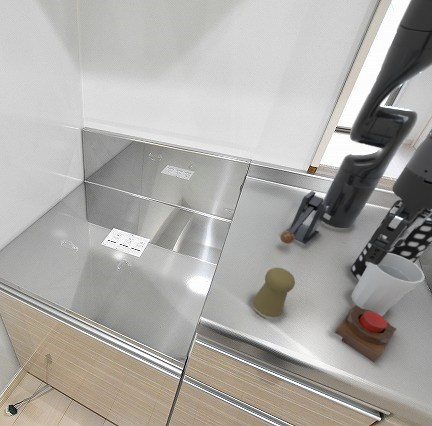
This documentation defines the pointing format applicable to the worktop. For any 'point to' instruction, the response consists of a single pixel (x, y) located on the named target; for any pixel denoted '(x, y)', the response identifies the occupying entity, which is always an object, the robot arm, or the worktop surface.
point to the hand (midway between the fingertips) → (381, 251)
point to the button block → (364, 335)
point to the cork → (273, 292)
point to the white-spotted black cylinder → (408, 249)
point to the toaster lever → (301, 220)
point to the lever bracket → (308, 233)
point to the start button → (373, 321)
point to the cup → (386, 283)
